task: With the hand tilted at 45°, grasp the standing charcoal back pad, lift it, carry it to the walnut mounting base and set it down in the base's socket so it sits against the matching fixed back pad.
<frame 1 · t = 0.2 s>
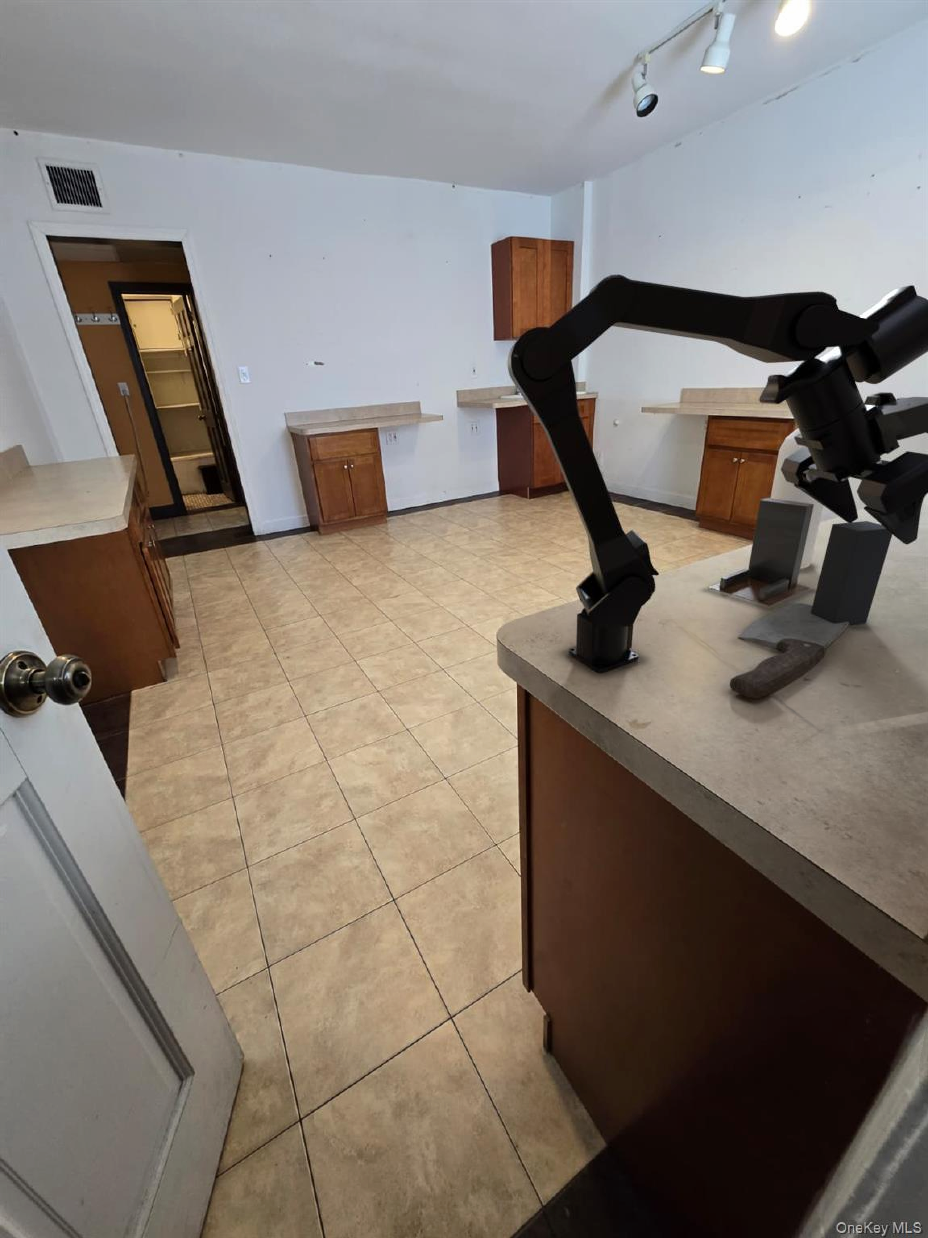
hand: (879, 530, 59), 15 cm above the countertop, tool tilted 35°, fingers open, 9 cm apart
cleaver: (781, 649, 65), on the countertop, touching back pad
bottle: (783, 565, 91), on the countertop
back pad: (837, 619, 70), on the countertop, touching cleaver
pad mount: (759, 589, 82), on the countertop
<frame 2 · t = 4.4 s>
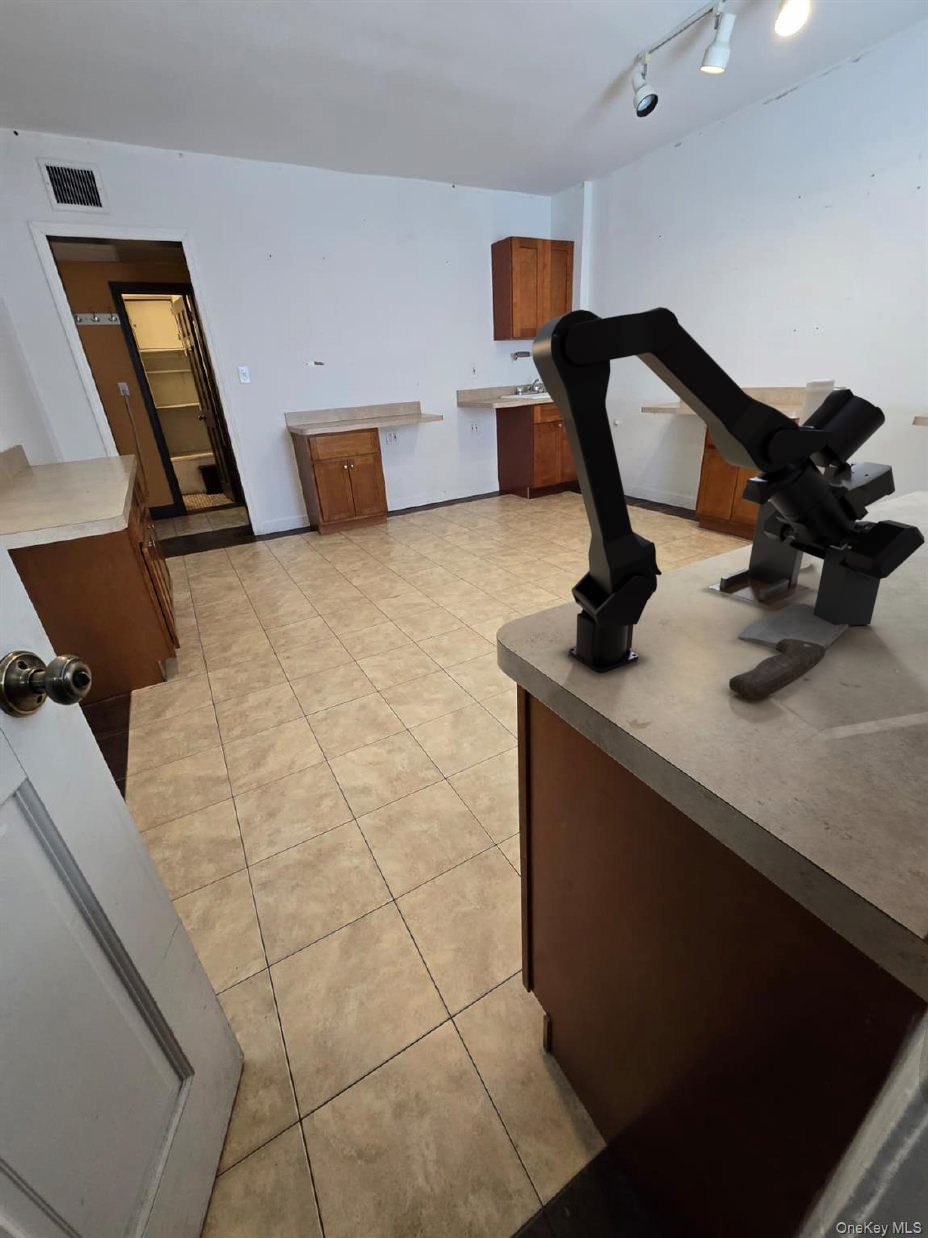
hand: (863, 570, 67), 7 cm above the countertop, tool tilted 45°, fingers closed on back pad, 4 cm apart
back pad: (840, 620, 69), point 1 cm above the countertop, tilted 6°, touching cleaver, gripper
everything else where it was.
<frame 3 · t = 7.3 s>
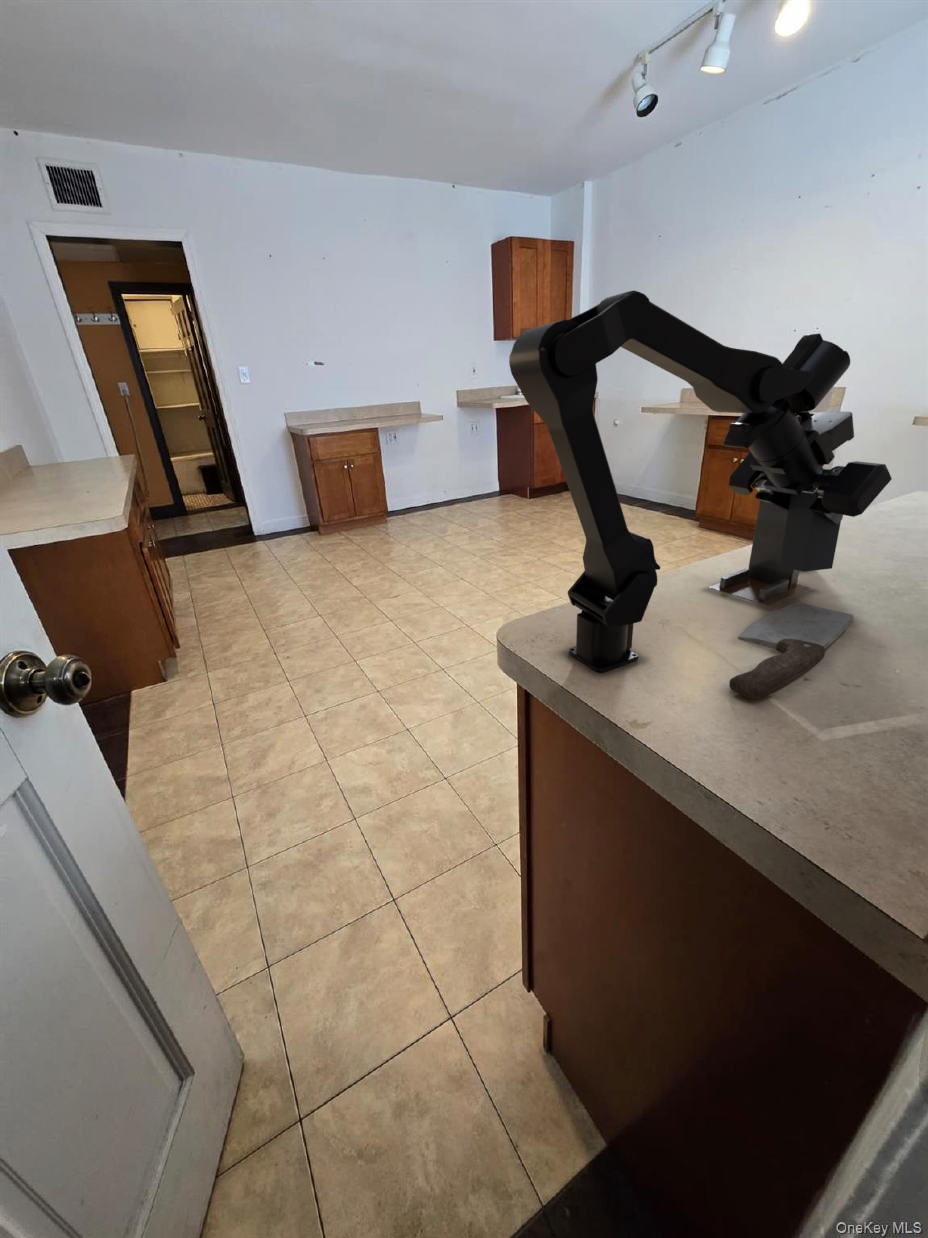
hand: (823, 518, 71), 13 cm above the countertop, tool tilted 45°, fingers closed on back pad, 4 cm apart
cleaver: (781, 649, 65), on the countertop
back pad: (805, 567, 72), point 6 cm above the countertop, tilted 7°, touching gripper
everything else where it was.
when the fingers open (8 cm above the countertop, at t = 10.4 s): back pad stays where it is, resting on pad mount.
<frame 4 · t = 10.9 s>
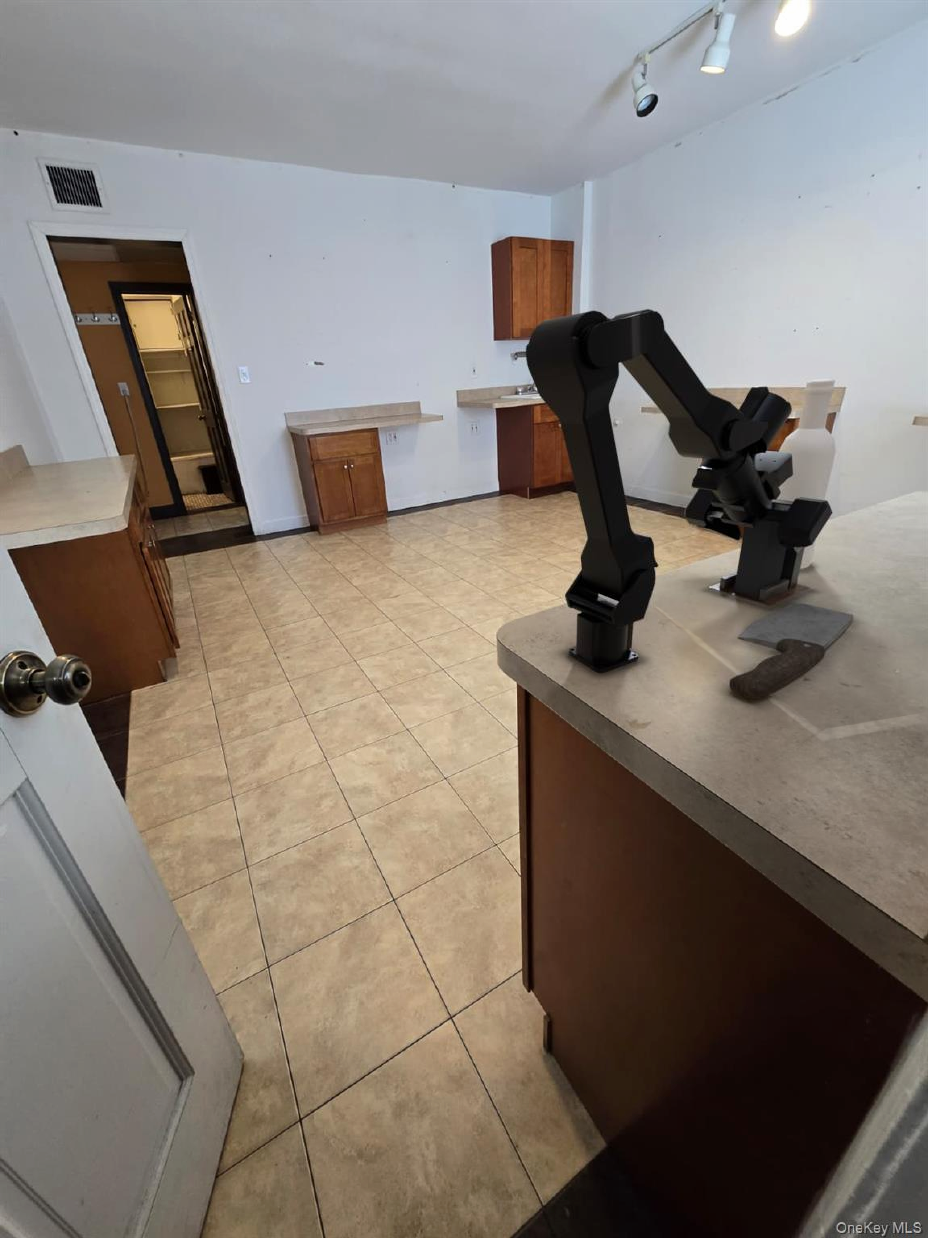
hand: (767, 544, 79), 8 cm above the countertop, tool tilted 45°, fingers open, 9 cm apart
back pad: (755, 591, 80), point 1 cm above the countertop, touching gripper, pad mount
everything else where it was.
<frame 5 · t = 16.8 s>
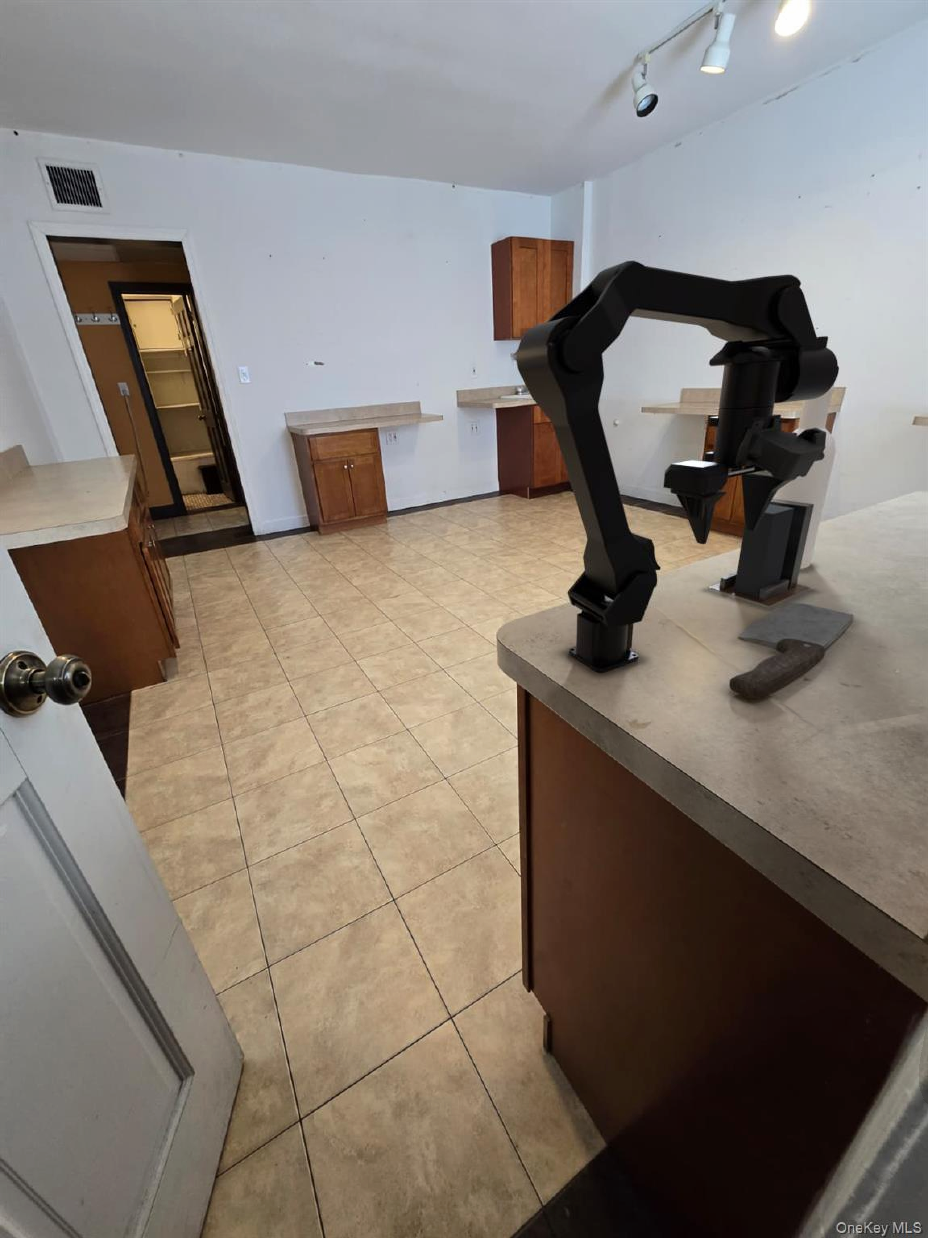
hand: (726, 536, 66), 13 cm above the countertop, tool pointing down, fingers open, 9 cm apart
back pad: (755, 591, 80), point 1 cm above the countertop, touching pad mount
everything else where it was.
at the end: back pad 1.4 cm from the target spot on the pad mount, point 0.6 cm above the pad mount's base; back pad tilted 0°; the gripper is holding nothing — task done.
